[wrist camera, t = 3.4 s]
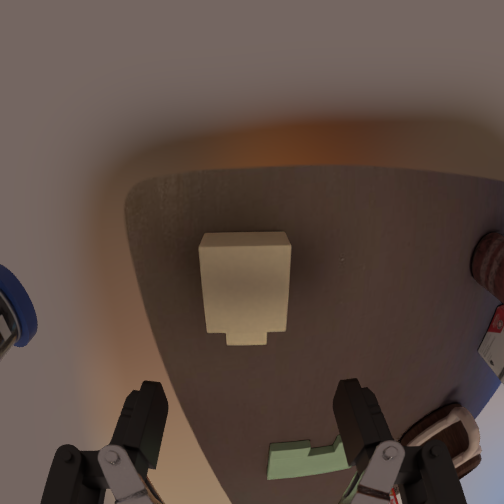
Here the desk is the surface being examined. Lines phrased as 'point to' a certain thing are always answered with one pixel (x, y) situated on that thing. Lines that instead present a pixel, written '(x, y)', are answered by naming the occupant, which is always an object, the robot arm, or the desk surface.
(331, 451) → the sage mat
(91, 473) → the robot arm
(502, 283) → the can
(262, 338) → the cream pad
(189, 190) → the desk surface
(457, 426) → the mug
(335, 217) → the desk surface
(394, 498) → the board game
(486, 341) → the ink box
